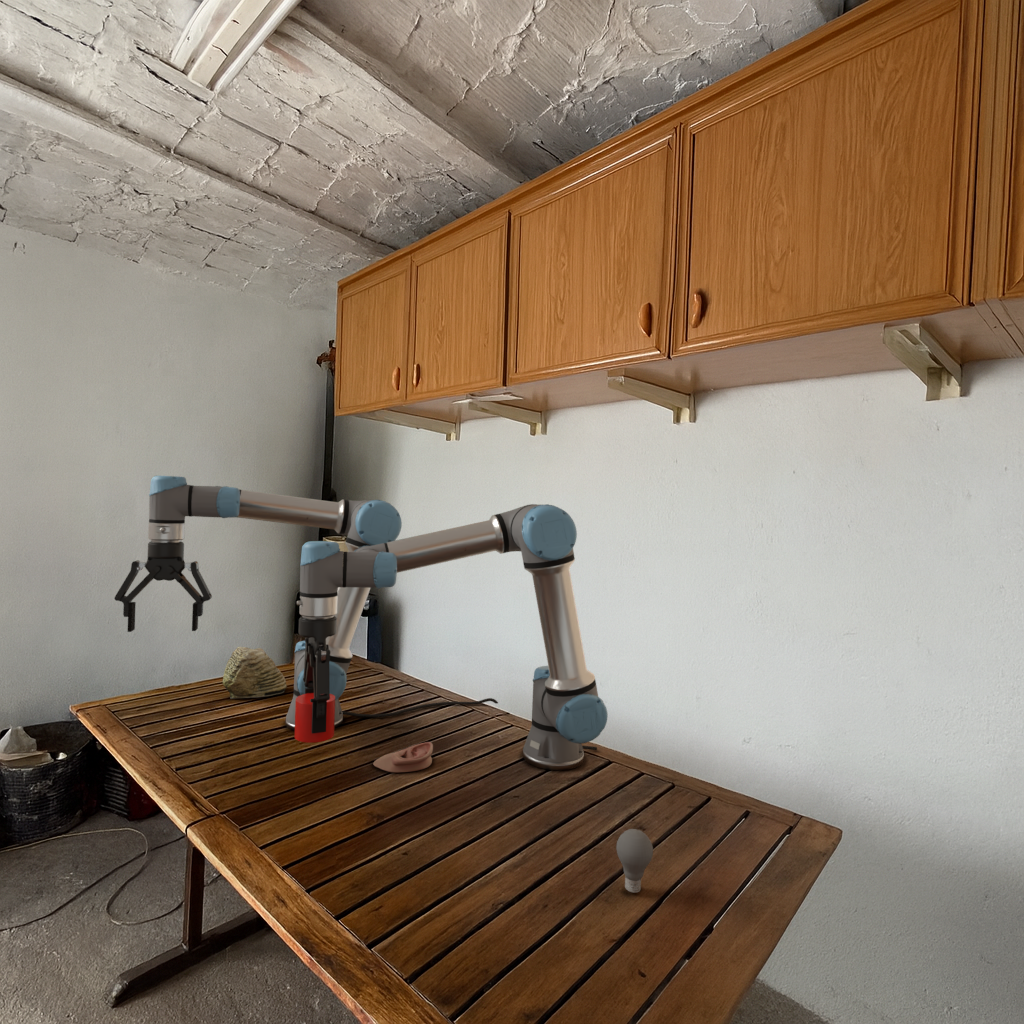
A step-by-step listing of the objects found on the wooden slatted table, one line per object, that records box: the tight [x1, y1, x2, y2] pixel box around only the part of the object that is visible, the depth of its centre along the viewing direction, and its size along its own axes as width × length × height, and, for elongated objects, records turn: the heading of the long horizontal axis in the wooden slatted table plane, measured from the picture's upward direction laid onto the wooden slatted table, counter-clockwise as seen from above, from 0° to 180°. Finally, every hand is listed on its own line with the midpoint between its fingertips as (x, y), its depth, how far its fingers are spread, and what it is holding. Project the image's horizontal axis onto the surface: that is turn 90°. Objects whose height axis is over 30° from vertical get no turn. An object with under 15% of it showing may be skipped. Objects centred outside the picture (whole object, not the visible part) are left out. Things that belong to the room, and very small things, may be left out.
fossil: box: [222, 646, 288, 699], centre depth 198 cm, size 9×18×15 cm, turn 132°
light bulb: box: [615, 828, 654, 894], centre depth 106 cm, size 6×6×10 cm
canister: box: [294, 693, 335, 744], centre depth 132 cm, size 8×8×8 cm
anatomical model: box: [372, 741, 434, 773], centre depth 152 cm, size 13×4×12 cm
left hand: (163, 630), depth 150 cm, fingers open, 13 cm apart
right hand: (314, 724), depth 132 cm, fingers closed on canister, 8 cm apart
